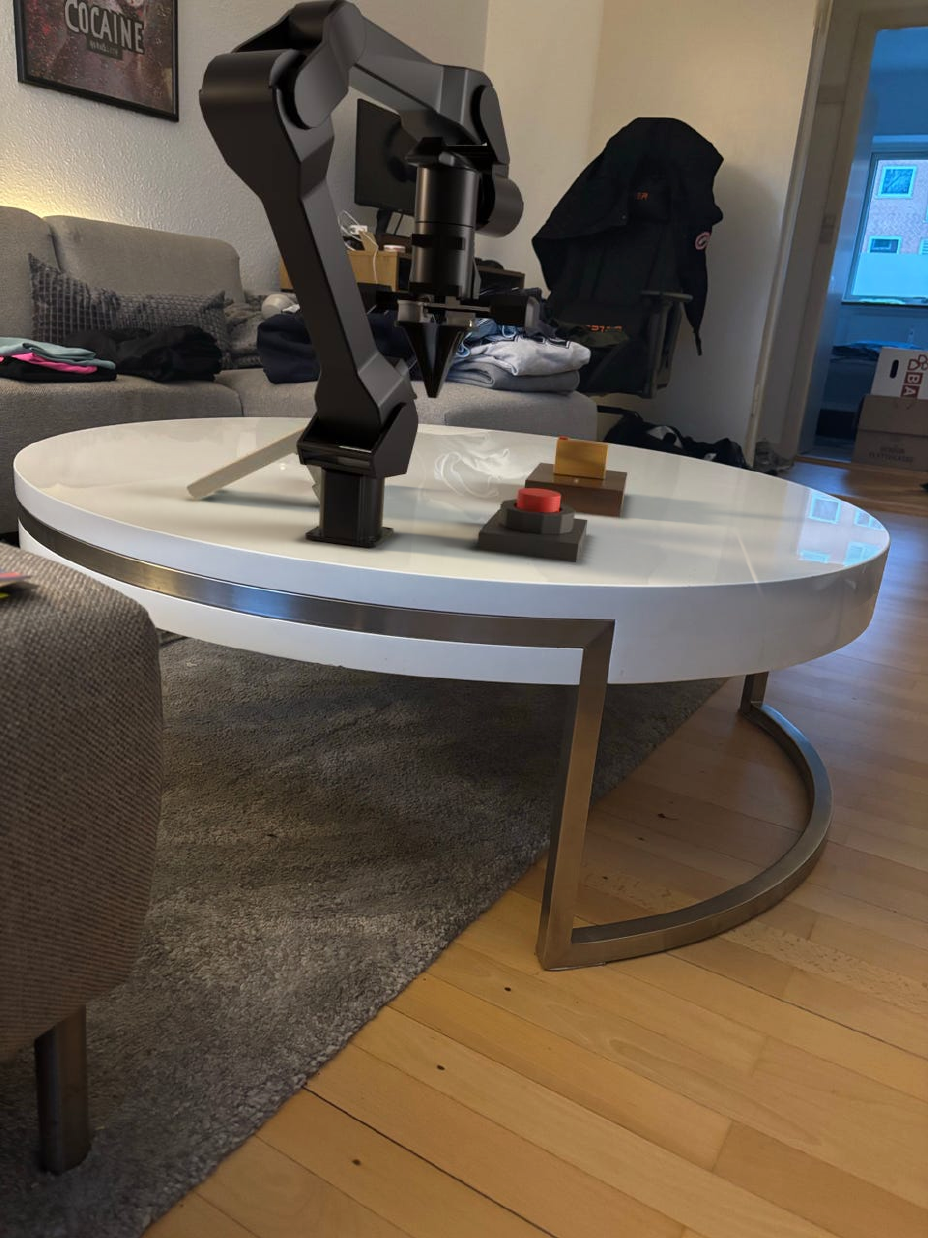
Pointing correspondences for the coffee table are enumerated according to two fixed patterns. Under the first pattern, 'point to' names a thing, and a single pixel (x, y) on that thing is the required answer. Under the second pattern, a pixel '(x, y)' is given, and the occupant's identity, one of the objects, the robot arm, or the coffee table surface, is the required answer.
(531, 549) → the button base
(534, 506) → the bell button
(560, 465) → the upright gold plate
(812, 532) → the coffee table surface
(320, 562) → the coffee table surface
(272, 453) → the door handle
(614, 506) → the plate
